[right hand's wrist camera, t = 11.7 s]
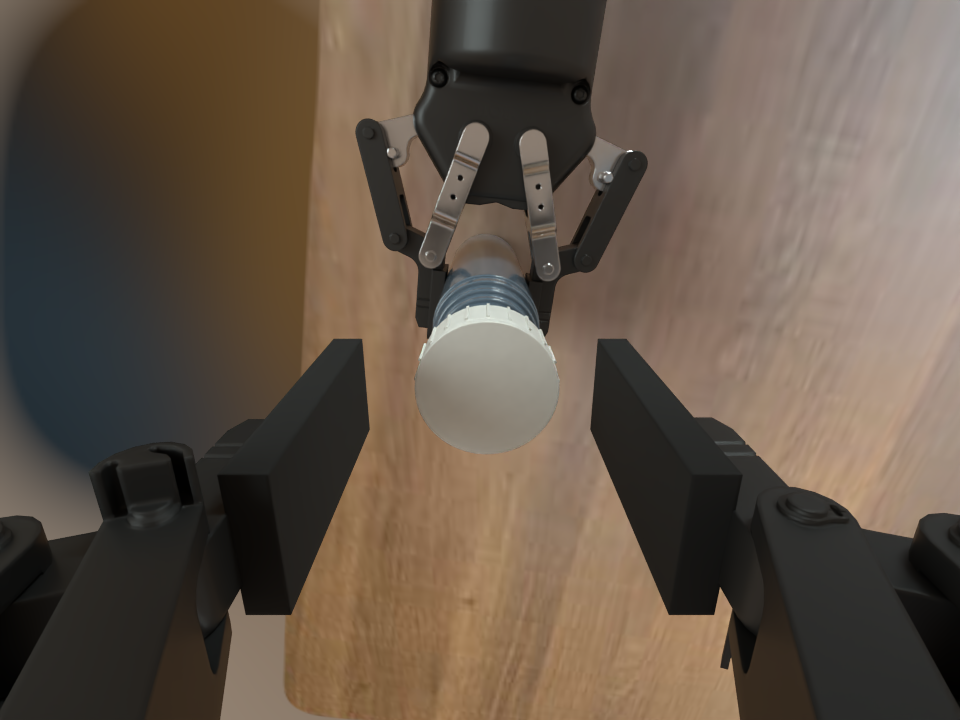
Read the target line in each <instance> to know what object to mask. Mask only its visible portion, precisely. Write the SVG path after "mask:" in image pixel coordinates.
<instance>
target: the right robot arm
mask: <svg viewBox="0 0 960 720" xmlns="http://www.w3.org/2000/svg"><path fill="white" fill-rule="evenodd" d="M369 430H370V428H369V416H368V404H367V392H366V380H365V368H364V356H363V344H362V339H333V340H332V342H331V343H330V344H329V345H328V346H327V347H326V349H325V350H324V351H323V352H322V353H321V354H320V356H319V357H318V358H317V359H316V360H315V361H314V363H313V364H312V365H311V366H310V367H309V368H308V370H307V371H306V372H305V373H304V374H303V375H302V377H301V378H300V379H299V380H298V381H297V382H296V384H295V385H294V386H293V387H292V388H291V389H290V391H289V392H288V393H287V394H286V395H285V396H284V398H283V399H282V400H281V401H280V402H279V403H278V405H277V406H276V407H275V408H274V409H273V410H272V411H271V413H270V414H269V415H268V416H267V417H266V418H265V419H248V420H246V421H244V422H243V423H241V424H239V425H237V426H235V427H234V428H232V429H230V430H228V431H227V432H226V433H225V434H224V435H223V436H222V437H221V438H220V439H219V440H218V441H217V443H216V444H215V447H212V448H211V449H210V450H209V451H208V452H207V453H206V454H205V455H204V458H201V459H200V460H199V461H198V462H197V463H196V464H195V459H194V455H193V450H192V449H191V448H190V447H188V446H187V445H185V444H181V443H175V442H160V443H151V444H146V445H141V446H136V447H133V448H130V449H127V450H124V451H122V452H119V453H116V454H114V455H112V456H110V457H108V458H107V459H105V460H103V461H101V462H99V463H98V464H97V465H96V466H95V467H94V468H93V469H92V470H91V471H90V472H89V475H90V479H91V482H92V485H93V489H94V492H95V495H96V498H97V502H98V505H99V508H100V511H101V515H102V518H103V523H102V525H101V526H100V528H99V530H98V531H96V532H91V533H86V534H81V535H76V536H71V537H65V538H60V539H55V540H50V541H48V540H47V538H46V535H45V532H44V529H43V526H42V524H41V522H40V521H38V520H37V519H35V518H34V517H30V516H10V517H3V518H0V720H220V716H221V709H222V701H223V694H224V687H225V680H226V672H227V665H228V658H229V651H230V643H231V636H232V630H231V623H230V618H229V613H228V609H229V607H230V606H231V604H232V602H233V600H234V599H235V597H236V595H237V594H238V592H239V590H240V589H241V594H242V599H243V604H244V608H245V613H246V615H291V614H292V611H293V609H294V607H295V604H296V602H297V600H298V597H299V595H300V593H301V590H302V588H303V585H304V583H305V581H306V578H307V576H308V574H309V571H310V569H311V567H312V564H313V562H314V559H315V557H316V555H317V552H318V550H319V548H320V545H321V543H322V541H323V538H324V536H325V534H326V531H327V529H328V526H329V524H330V522H331V519H332V517H333V515H334V512H335V510H336V508H337V505H338V503H339V500H340V498H341V496H342V493H343V491H344V489H345V486H346V484H347V482H348V479H349V477H350V475H351V472H352V470H353V467H354V465H355V463H356V460H357V458H358V456H359V453H360V451H361V449H362V446H363V444H364V441H365V439H366V437H367V434H368V432H369ZM590 430H591V432H592V434H593V437H594V439H595V441H596V444H597V446H598V449H599V451H600V453H601V456H602V458H603V460H604V463H605V465H606V467H607V470H608V472H609V475H610V477H611V479H612V482H613V484H614V486H615V489H616V491H617V493H618V496H619V498H620V500H621V503H622V505H623V508H624V510H625V512H626V515H627V517H628V519H629V522H630V524H631V526H632V529H633V531H634V534H635V536H636V538H637V541H638V543H639V545H640V548H641V550H642V552H643V555H644V557H645V559H646V562H647V564H648V567H649V569H650V571H651V574H652V576H653V578H654V581H655V583H656V585H657V588H658V590H659V593H660V595H661V597H662V600H663V602H664V604H665V607H666V609H667V611H668V614H669V615H714V613H715V608H716V604H717V599H718V594H719V589H720V587H721V589H722V591H723V593H724V594H725V596H726V598H727V600H728V601H729V603H730V605H731V607H732V608H733V609H732V613H731V618H730V622H729V627H728V632H727V636H726V641H725V645H724V650H723V654H722V660H721V667H720V668H724V669H728V667H729V662H730V658H732V664H733V671H734V678H735V686H736V693H737V700H738V707H739V715H740V720H960V515H954V514H947V513H938V514H928V515H926V516H925V517H923V518H922V519H920V521H919V524H918V526H917V529H916V532H915V535H914V538H908V537H902V536H897V535H892V534H887V533H881V532H876V531H871V530H866V529H862V528H861V527H860V525H859V524H858V522H857V520H856V519H855V518H854V517H853V516H852V514H851V513H850V512H849V511H848V510H847V509H846V508H844V507H843V506H841V505H840V504H838V503H837V502H835V501H834V500H832V499H829V498H827V497H825V496H822V495H820V494H818V493H815V492H812V491H808V490H804V489H800V488H796V487H788V486H787V485H786V484H785V482H784V481H783V480H782V479H781V478H780V477H779V476H778V475H777V474H776V473H775V472H774V471H773V470H772V469H771V468H770V467H769V466H768V465H767V464H766V463H765V462H764V461H763V460H762V459H761V458H760V457H759V456H756V453H755V452H754V451H753V450H752V448H751V447H750V446H749V445H745V441H744V440H743V439H742V438H741V437H740V436H739V435H738V434H737V433H736V432H735V431H734V430H733V429H732V428H730V427H728V426H726V425H724V424H723V423H721V422H719V421H717V420H715V419H714V418H694V417H693V416H692V415H691V414H690V413H689V411H688V410H687V409H686V408H685V407H684V406H683V405H682V403H681V402H680V401H679V400H678V399H677V398H676V396H675V395H674V394H673V393H672V392H671V391H670V389H669V388H668V387H667V386H666V385H665V384H664V382H663V381H662V380H661V379H660V378H659V377H658V375H657V374H656V373H655V372H654V371H653V370H652V368H651V367H650V366H649V365H648V364H647V363H646V361H645V360H644V359H643V358H642V357H641V356H640V354H639V353H638V352H637V351H636V350H635V349H634V347H633V346H632V345H631V344H630V343H629V342H628V341H627V339H598V344H597V356H596V368H595V380H594V392H593V404H592V416H591V428H590Z"/></svg>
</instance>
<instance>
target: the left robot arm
mask: <svg viewBox="0 0 960 720" xmlns="http://www.w3.org/2000/svg"><path fill="white" fill-rule="evenodd" d="M606 1H607V0H432V9H431V25H430V40H429V55H428V71H427V81H426V86H425V89H424V92H423V94H422V96H421V98H420V100H419V101H418V103H417V104H416V107H415V109H414V113H413V114H412V115H408V116H403V117H399V118H394V119H390V120H385V121H381V122H377V121H375V120H373V119H363V120H361V121H360V122H359V123H358V125H357V127H356V138H357V142H358V146H359V150H360V153H361V157H362V161H363V165H364V169H365V173H366V177H367V181H368V185H369V189H370V192H371V196H372V200H373V204H374V208H375V212H376V216H377V220H378V224H379V228H380V231H381V235H382V239H383V243H384V245H385V246H386V247H387V248H388V249H390V250H392V251H398V252H400V253H402V254H404V255H406V256H409V257H410V258H412V259H413V260H414V261H415V262H416V264H417V266H418V287H417V302H416V320H417V323H418V326H419V327H424V328H428V329H427V339H429V337H430V336H431V334H432V331H433V317H434V313H435V310H436V307H437V304H438V301H439V298H440V296H441V293H442V290H443V287H444V284H445V281H446V279H447V276H448V266H449V264H445V256H446V252H447V249H448V247H449V244H450V242H451V239H452V237H453V234H454V231H455V229H456V226H457V224H458V221H459V219H460V216H461V214H462V211H463V209H464V206H465V204H466V203H467V204H476V205H482V204H489V203H495V202H497V203H500V204H502V205H505V206H507V207H510V208H512V209H520V210H524V217H525V223H526V228H527V233H528V240H529V246H530V253H531V260H532V263H531V270H530V274H529V273H526V276H525V280H526V283H527V285H528V288H529V291H530V293H531V296H532V298H533V301H534V303H535V306H536V309H537V312H538V316H539V327H540V329H541V330H542V332H543V335H544V337H545V336H546V334H547V332H548V328H549V321H550V315H551V309H552V303H553V296H554V290H555V285H556V283H557V281H558V280H559V279H560V278H561V277H563V276H564V275H567V274H571V273H575V272H584V273H587V272H591V271H592V270H594V269H595V268H596V267H597V265H598V263H599V261H600V259H601V257H602V255H603V253H604V251H605V249H606V247H607V245H608V243H609V241H610V239H611V237H612V235H613V234H614V232H615V230H616V228H617V226H618V224H619V222H620V220H621V218H622V216H623V214H624V212H625V210H626V208H627V206H628V204H629V202H630V200H631V198H632V196H633V194H634V192H635V191H636V189H637V187H638V185H639V183H640V181H641V179H642V177H643V175H644V173H645V171H646V169H647V164H648V163H647V158H646V156H645V155H644V154H643V153H642V152H640V151H626V150H624V149H622V148H620V147H618V146H616V145H614V144H612V143H610V142H608V141H605V140H603V139H601V138H599V137H597V136H596V128H595V124H594V121H593V118H592V114H591V105H590V103H591V93H592V87H593V80H594V74H595V68H596V62H597V56H598V50H599V44H600V37H601V31H602V25H603V19H604V13H605V7H606ZM417 137H419V139H420V141H421V142H422V144H423V146H424V148H425V149H426V151H427V153H428V155H429V157H430V158H431V160H432V162H433V164H434V165H435V167H436V169H437V171H438V173H439V174H440V176H441V178H442V180H443V181H444V185H443V187H442V190H441V193H440V195H439V198H438V201H437V203H436V206H435V209H434V212H433V215H432V219H431V221H430V224H429V227H428V230H427V232H426V233H424V232H422V231H420V230H418V229H416V228H414V227H412V222H411V218H410V214H409V210H408V205H407V201H406V197H405V193H404V188H403V184H402V180H401V176H400V171H399V167H402V166H404V165H405V164H406V163H407V162H408V160H409V156H410V154H409V147H410V144H411V142H412V141H413V140H414V139H415V138H417ZM585 157H587V158H588V160H589V161H590V164H591V172H590V175H589V182H590V184H591V186H592V187H593V188H594V189H596V192H595V194H594V196H593V198H592V200H591V202H590V204H589V206H588V208H587V210H586V212H585V214H584V216H583V218H582V220H581V223H580V225H579V227H578V229H577V231H576V233H575V235H574V237H573V239H572V241H571V243H570V245H566V246H562V247H558V243H557V236H556V218H555V210H554V202H553V195H552V193H553V192H554V191H555V190H556V189H557V188H558V187H559V186H560V185H561V183H562V182H563V181H564V180H565V179H566V178H567V177H568V176H569V175H570V173H571V172H572V171H573V170H574V169H575V168H576V167H577V166H578V165H579V164H580V162H581V161H582V160H583V159H584V158H585Z"/></svg>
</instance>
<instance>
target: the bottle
mask: <svg viewBox="0 0 960 720" xmlns="http://www.w3.org/2000/svg"><path fill="white" fill-rule="evenodd" d="M487 303H490V305H494V306H501V307H505V308H507V306H508V307H510V309H511V310H514V311H516V312H518V313H520V314H522V315H523V316H526V315H527V316H528V318H529V320H530V321H531V322H532V323H533V324H534V325H535V326H536V327H537V328H538V329H540V327H539V316H538V312H537V309H536V306H535V303H534V301H533V298H532V296H531V293H530V291H529V288H528V285H527V283H526V280H525V278H524V275H523V272H522V270H521V267H520V265H519V262H518V260H517V257H516V254H515V252H514V250H513V249H512V247H511V246H510V245H509V244H508V243H507V242H506V241H505V240H503V239H502V238H500V237H497V236H495V235H490V234H480V235H476V236H473V237H471V238H469V239H467V240H466V241H465V242H463V243H462V244H461V246H460V247H459V248H458V250H457V251H456V253H455V256H454V259H453V262H452V264H451V267H450V270H449V273H448V276H447V279H446V281H445V284H444V287H443V290H442V293H441V296H440V298H439V301H438V304H437V307H436V310H435V313H434V317H433V328H434V327H437V326H438V325H439V324H440V323H441V322H442V321H444V320H445V319H446V318H447V316H448V315H449V314H451V315H452V314H454V313H456V312H458V311H460V310H462V309H465V308H466V306H469V307H473V306H479V305H487Z"/></svg>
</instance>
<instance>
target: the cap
mask: <svg viewBox="0 0 960 720" xmlns="http://www.w3.org/2000/svg"><path fill="white" fill-rule="evenodd" d="M419 361H420V363H419V366H418V369H417V372H416V375H415V378H414V380H415V397H416V402H417V406H418V408H419V411H420V414H421V416H422V417H423V419H424V421H425V422H426V424H427V425H428V427H429V428H430V429H431V430H432V431H433V432H434V433H435V434H436V435H437V436H438V437H439V438H441V439H442V440H443V441H445V442H446V443H448V444H449V445H451V446H453V447H456V448H458V449H460V450H463V451H466V452H471V453H477V454H497V453H503V452H507V451H511V450H513V449H516V448H519V447H521V446H522V445H524V444H526V443H528V442H529V441H531V440H532V439H534V438H535V437H536V436H537V435H538V434H539V433H540V432H541V431H542V430H543V429H544V428H545V427H546V425H547V424H548V422H549V421H550V419H551V418H552V415H553V413H554V411H555V409H556V405H557V402H558V397H559V383H560V380H559V378H558V373H557V369H556V366H555V363H556V360H555V357H554V354H553V352H552V349H551V347H550V346H548V345H547V342H546V340H545V337H544V335H543V332H542V330H541V329H538V328H537V327H536V326H535V325H534V324H533V323H532V322H531V321H530V320H529V318H528V316H527V315H526V316H523V315H522V314H520V313H518V312H516V311H514V310H511V309H510V307H508V306H507V308H505V307H501V306H494V305H490V303H487V305H479V306H473V307H469V306H466V308H465V309H462V310H460V311H458V312H456V313H454V314H452V315H451V314H449V315H448V316H447V318H446V319H445V320H444V321H442V322H441V323H440V324H439V325H438V326H437V327H434V328H433V331H432V334H431V336H430V337H429V339H428V341H427V343H424V345H423V348H422V351H421V354H420V357H419Z"/></svg>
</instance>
